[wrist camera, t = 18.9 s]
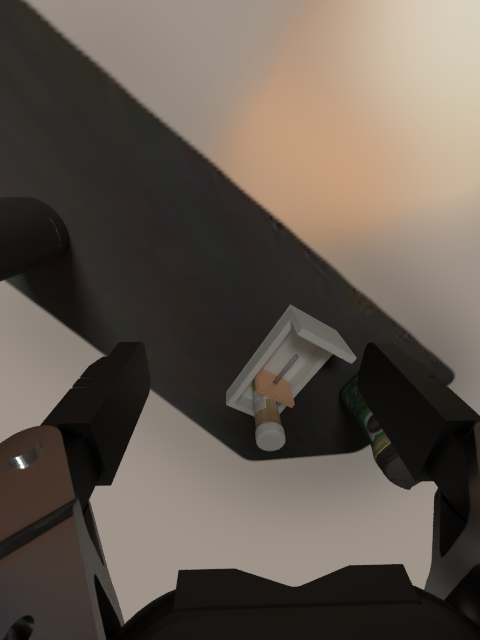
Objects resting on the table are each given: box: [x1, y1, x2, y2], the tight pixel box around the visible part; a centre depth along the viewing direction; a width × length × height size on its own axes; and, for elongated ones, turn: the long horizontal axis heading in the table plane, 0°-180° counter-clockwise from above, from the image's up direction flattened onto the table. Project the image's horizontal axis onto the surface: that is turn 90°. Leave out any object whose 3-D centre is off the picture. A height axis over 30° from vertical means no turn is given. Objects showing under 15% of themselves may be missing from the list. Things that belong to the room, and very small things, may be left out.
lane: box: [226, 305, 357, 416], centre depth 46 cm, size 22×10×9 cm, turn 149°
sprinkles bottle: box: [251, 379, 285, 451], centre depth 45 cm, size 5×4×13 cm
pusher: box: [255, 354, 299, 408], centre depth 46 cm, size 8×7×6 cm
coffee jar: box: [341, 375, 422, 490], centre depth 45 cm, size 10×8×19 cm
